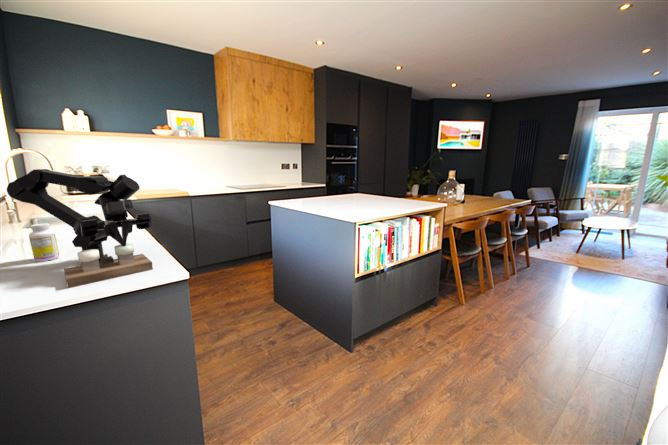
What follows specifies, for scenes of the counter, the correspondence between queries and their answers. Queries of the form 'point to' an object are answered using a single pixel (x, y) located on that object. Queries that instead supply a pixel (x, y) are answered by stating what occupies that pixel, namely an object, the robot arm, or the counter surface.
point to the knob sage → (124, 249)
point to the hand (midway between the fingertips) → (124, 245)
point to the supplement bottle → (43, 243)
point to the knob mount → (106, 269)
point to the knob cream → (88, 255)
